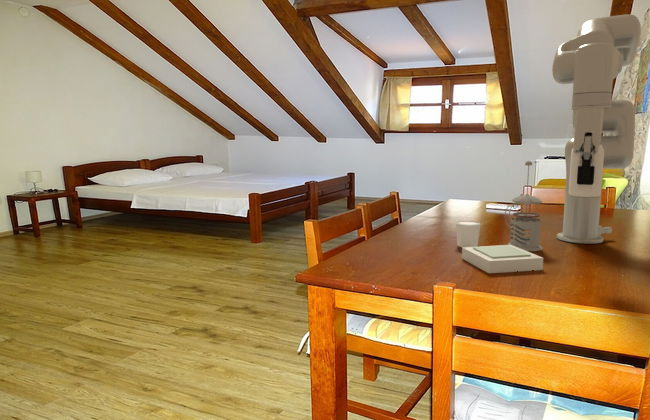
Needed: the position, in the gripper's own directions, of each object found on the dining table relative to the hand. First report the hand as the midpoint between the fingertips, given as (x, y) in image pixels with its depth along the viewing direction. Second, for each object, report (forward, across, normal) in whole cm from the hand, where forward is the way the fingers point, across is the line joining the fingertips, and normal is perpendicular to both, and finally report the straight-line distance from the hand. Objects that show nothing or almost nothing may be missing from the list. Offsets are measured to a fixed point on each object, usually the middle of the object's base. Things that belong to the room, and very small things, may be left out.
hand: (585, 182), depth 104 cm
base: (+21, +1, -17) cm, 28 cm away
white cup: (+22, -15, -29) cm, 40 cm away
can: (+3, 0, 0) cm, 3 cm away
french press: (+22, -22, -15) cm, 34 cm away
